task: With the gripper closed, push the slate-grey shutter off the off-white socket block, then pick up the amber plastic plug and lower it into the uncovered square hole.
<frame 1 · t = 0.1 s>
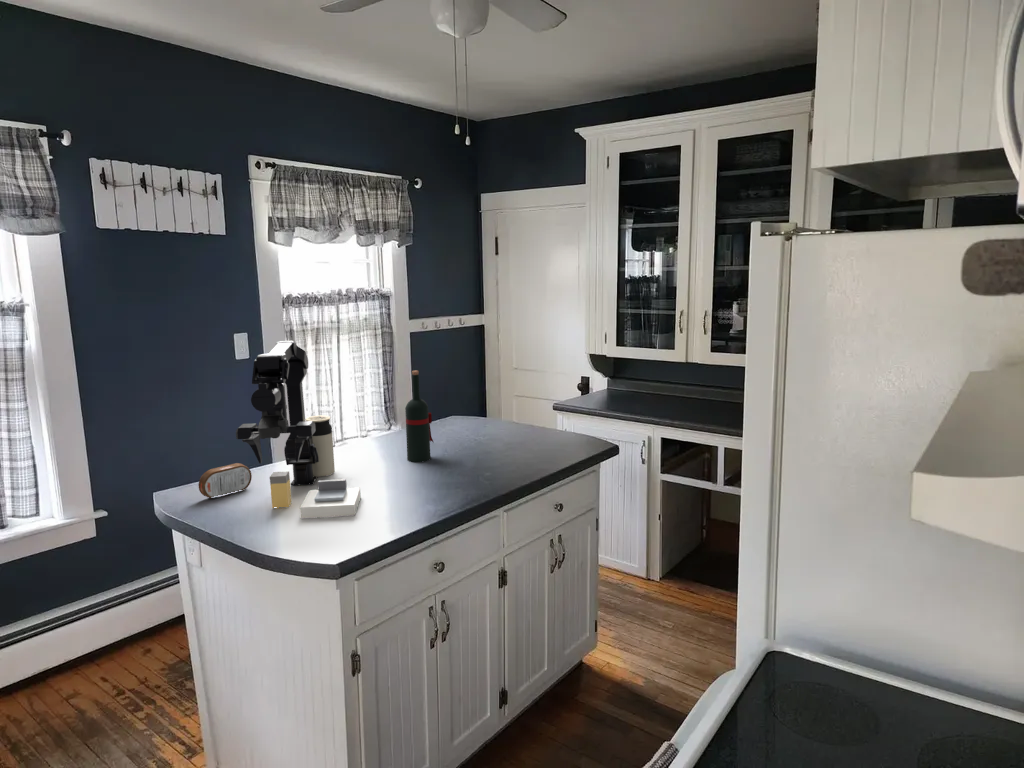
hand: (279, 462, 175), 15 cm above the countertop, tool pointing down, fingers open, 9 cm apart
wine bottle: (421, 458, 228), on the countertop
travel mug: (321, 474, 214), on the countertop
socket block: (331, 507, 183), on the countertop
shutter: (330, 490, 182), point 5 cm above the countertop, slide at 0.0 cm
plug: (282, 505, 186), on the countertop
tin: (227, 495, 196), on the countertop
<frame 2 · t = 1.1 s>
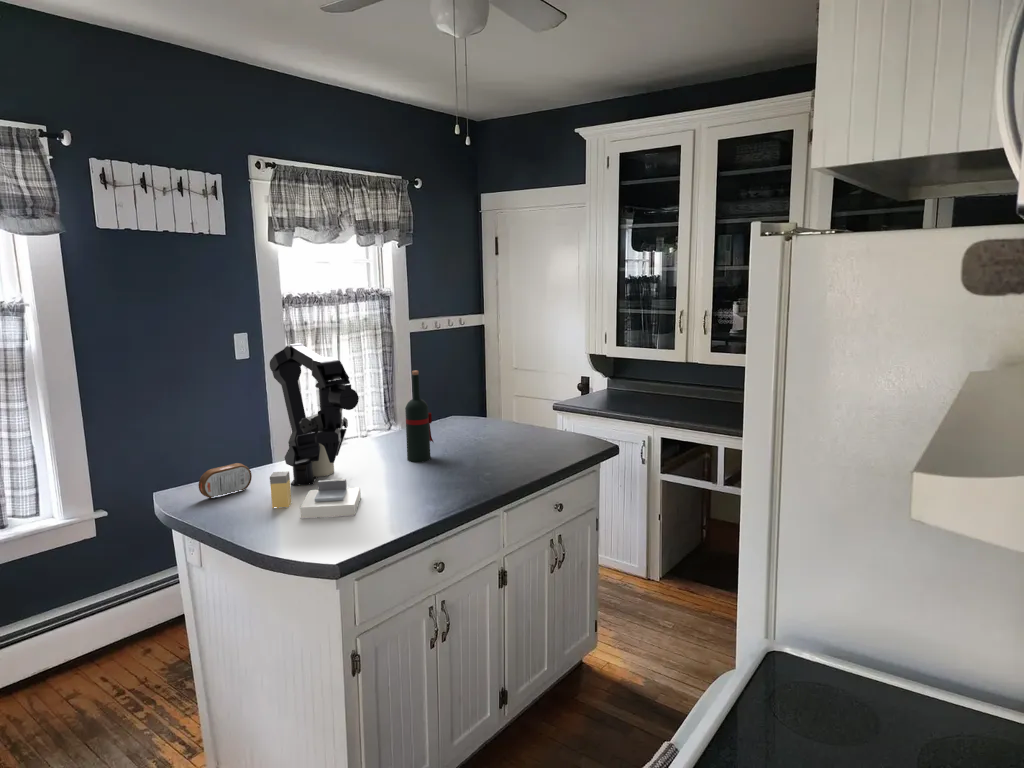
hand: (334, 459, 190), 11 cm above the countertop, tool pointing down, fingers open, 7 cm apart
nothing on the countertop moved.
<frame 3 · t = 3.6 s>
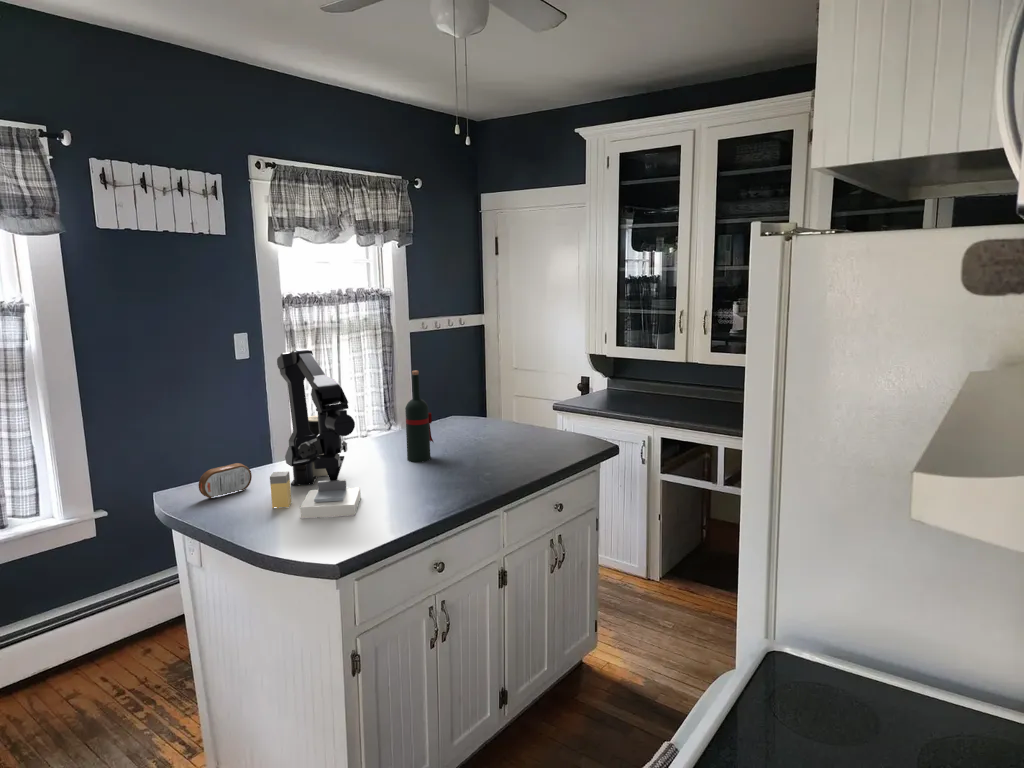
hand: (333, 484, 186), 5 cm above the countertop, tool pointing down, fingers closed
shutter: (330, 490, 182), point 5 cm above the countertop, slide at 0.5 cm, touching gripper
everything else where it was.
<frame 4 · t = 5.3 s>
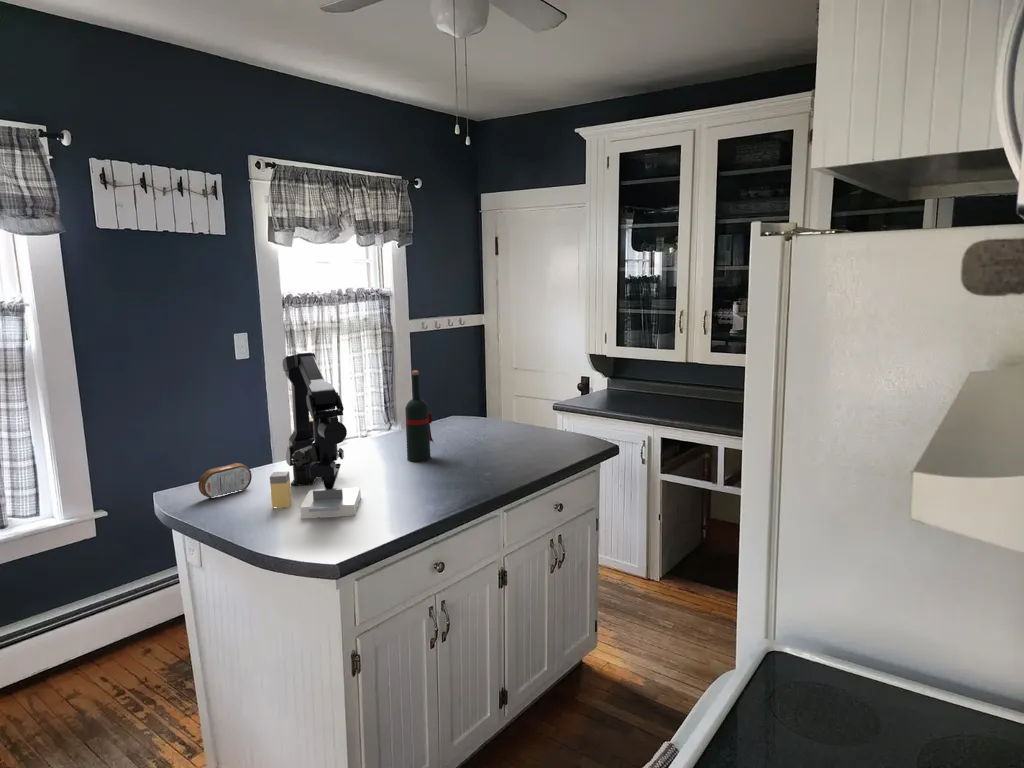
hand: (329, 493, 179), 5 cm above the countertop, tool pointing down, fingers closed
travel mug: (321, 473, 214), on the countertop, touching arm
shutter: (326, 499, 175), point 5 cm above the countertop, slide at 7.6 cm, touching gripper
everything else where it was.
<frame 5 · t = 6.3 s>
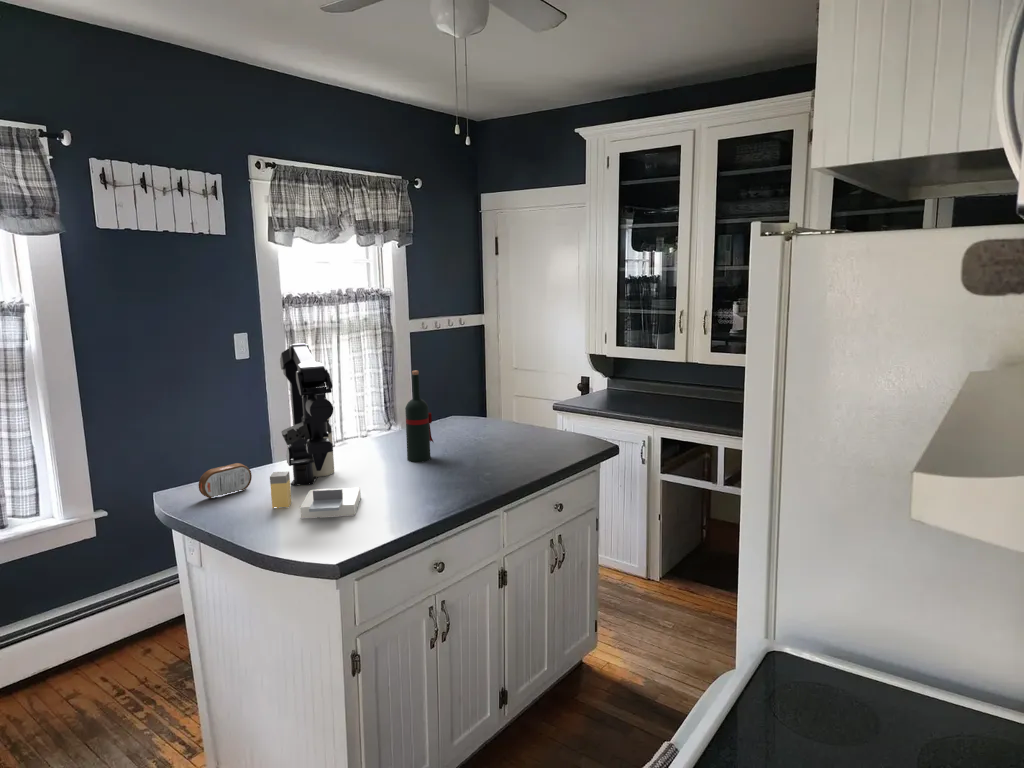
hand: (318, 470, 180), 11 cm above the countertop, tool pointing down, fingers closed
travel mug: (321, 474, 214), on the countertop
shutter: (326, 499, 175), point 5 cm above the countertop, slide at 7.6 cm
everything else where it was.
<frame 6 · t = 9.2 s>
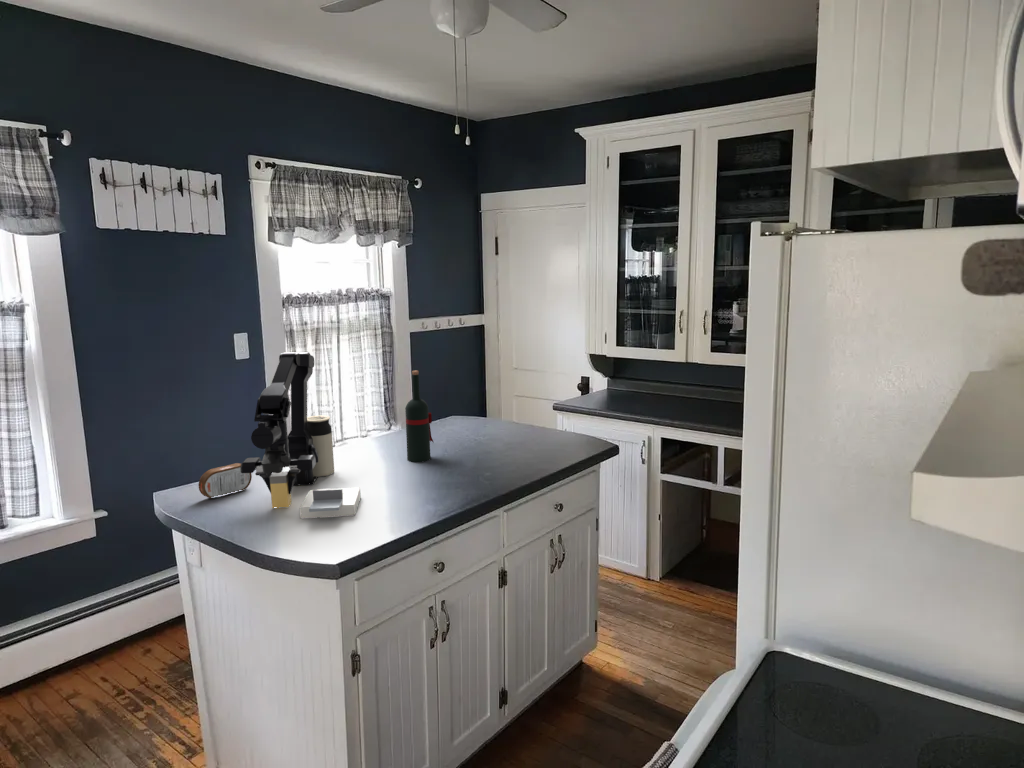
hand: (281, 494, 185), 3 cm above the countertop, tool pointing down, fingers closed on plug, 4 cm apart
plug: (282, 505, 186), on the countertop, touching gripper
everything else where it was.
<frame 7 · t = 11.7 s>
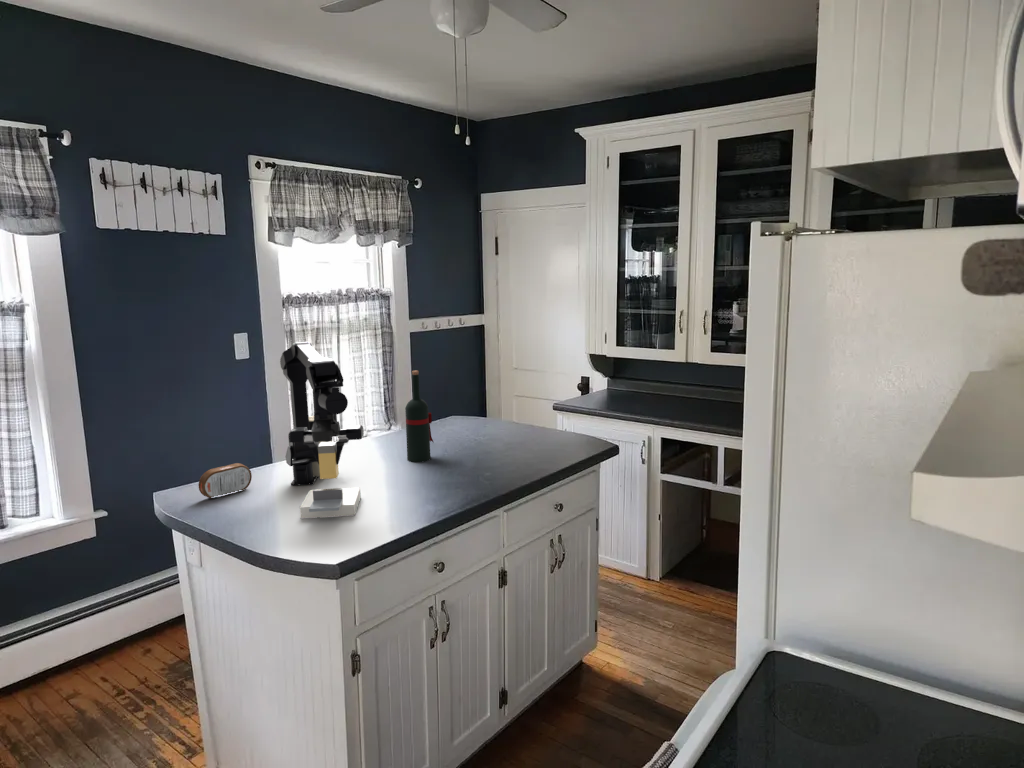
hand: (328, 464, 181), 12 cm above the countertop, tool pointing down, fingers closed on plug, 4 cm apart
travel mug: (321, 473, 214), on the countertop, touching arm
plug: (329, 476, 181), point 9 cm above the countertop, touching gripper
everything else where it was.
when the fingers open (4 cm above the countertop, at t = 13.7 s): plug stays where it is, resting in socket block.
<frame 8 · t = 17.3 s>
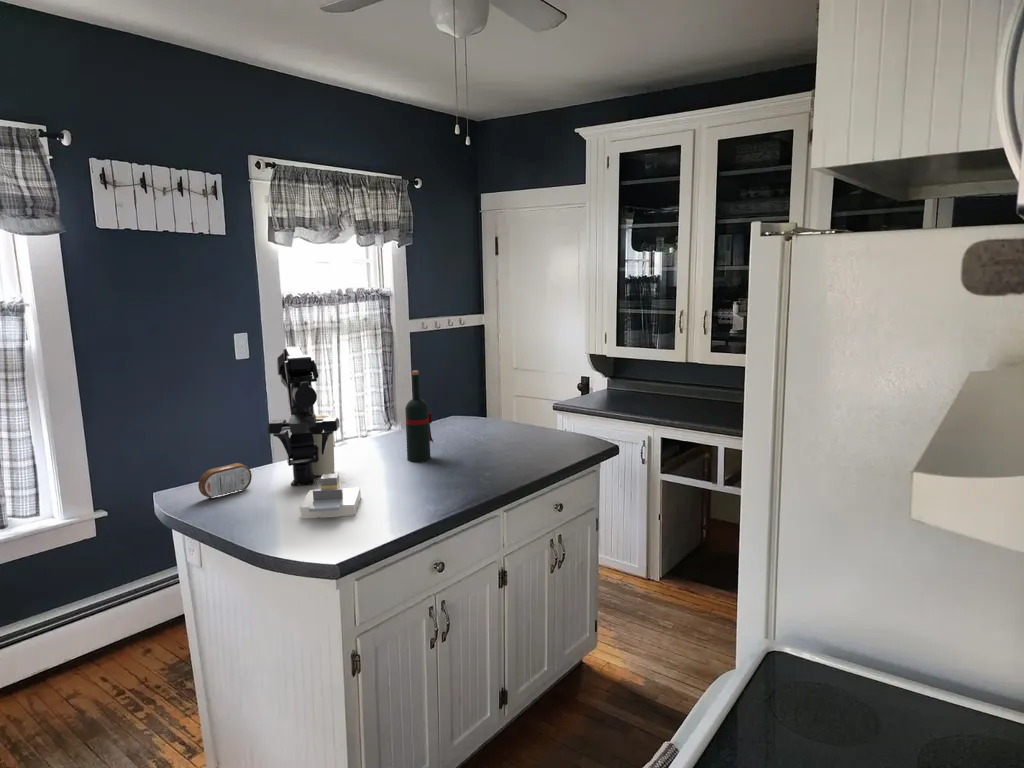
hand: (306, 455, 191), 12 cm above the countertop, tool pointing down, fingers open, 9 cm apart
plug: (331, 507, 183), resting in socket block
everything else where it was.
at the end: plug 0.0 cm off-centre on the socket block, point 0.0 cm above the socket block's base; plug tilted 0°; shutter slide at 7.6 cm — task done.
